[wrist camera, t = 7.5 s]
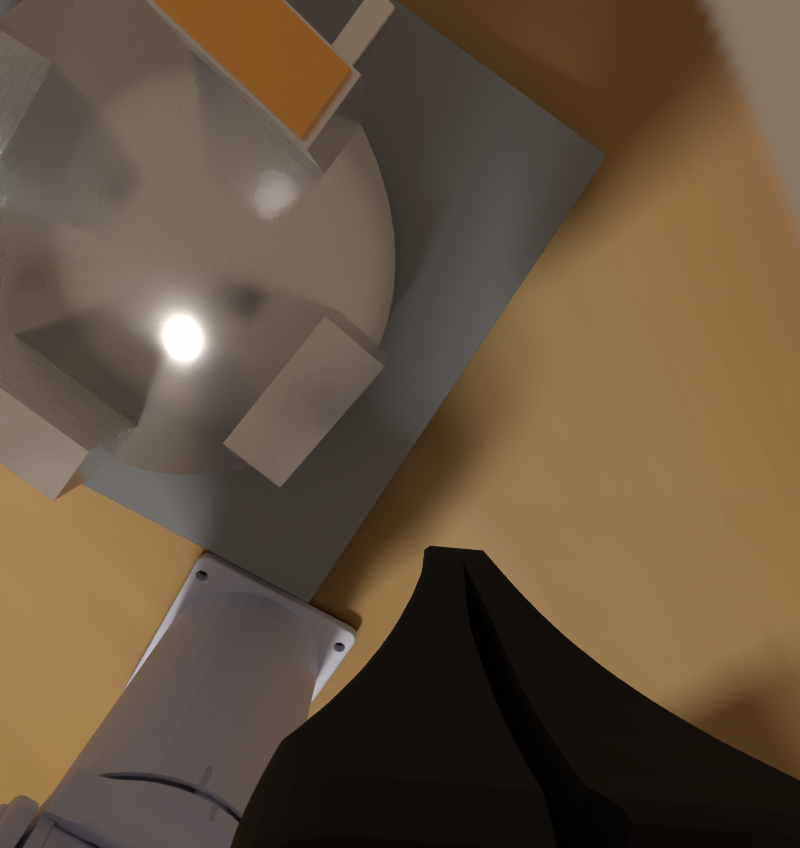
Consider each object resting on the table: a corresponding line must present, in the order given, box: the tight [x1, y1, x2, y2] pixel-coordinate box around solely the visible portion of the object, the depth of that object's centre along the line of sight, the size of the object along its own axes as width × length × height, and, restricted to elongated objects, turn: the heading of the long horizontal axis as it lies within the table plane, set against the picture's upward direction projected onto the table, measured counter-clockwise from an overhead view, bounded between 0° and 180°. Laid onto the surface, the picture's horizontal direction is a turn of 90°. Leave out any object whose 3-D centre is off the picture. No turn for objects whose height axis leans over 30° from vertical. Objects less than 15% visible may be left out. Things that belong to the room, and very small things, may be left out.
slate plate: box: [0, 0, 607, 603], centre depth 17 cm, size 20×20×2 cm
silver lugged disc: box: [0, 0, 396, 500], centre depth 14 cm, size 15×15×5 cm
